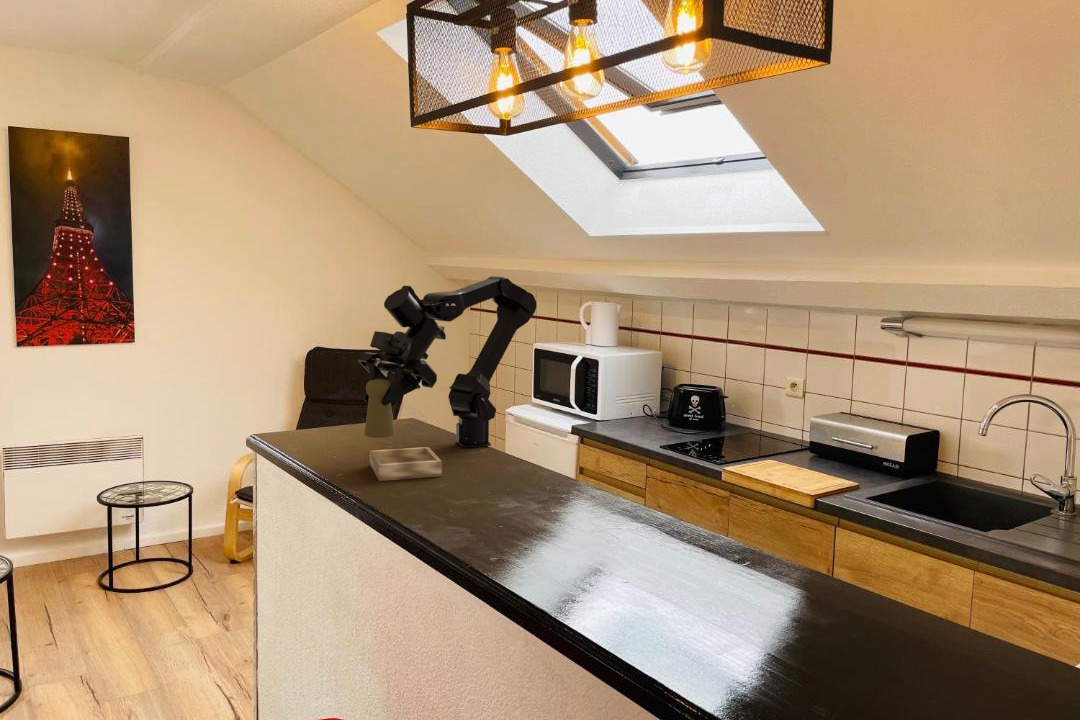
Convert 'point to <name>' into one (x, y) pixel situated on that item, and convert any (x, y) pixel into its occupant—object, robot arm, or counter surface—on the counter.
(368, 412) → the olive pepper mill
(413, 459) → the birch tray
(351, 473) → the counter surface
